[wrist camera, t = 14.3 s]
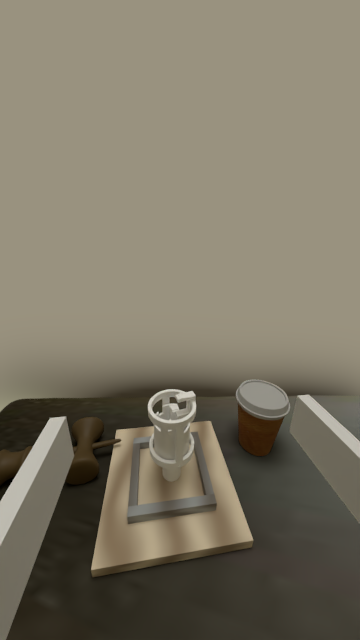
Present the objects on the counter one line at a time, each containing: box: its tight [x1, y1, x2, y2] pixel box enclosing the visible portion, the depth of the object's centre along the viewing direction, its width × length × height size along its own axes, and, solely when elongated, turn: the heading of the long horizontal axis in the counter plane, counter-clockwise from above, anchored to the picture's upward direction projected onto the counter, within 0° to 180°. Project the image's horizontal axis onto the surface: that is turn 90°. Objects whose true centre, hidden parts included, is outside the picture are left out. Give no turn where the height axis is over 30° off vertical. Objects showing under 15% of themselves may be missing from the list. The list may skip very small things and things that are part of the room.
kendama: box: [0, 417, 121, 486], centre depth 37 cm, size 6×10×20 cm
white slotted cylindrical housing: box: [148, 389, 196, 482], centre depth 32 cm, size 7×7×15 cm
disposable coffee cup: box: [236, 380, 290, 456], centre depth 41 cm, size 10×10×12 cm
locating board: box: [91, 421, 253, 577], centre depth 35 cm, size 20×20×3 cm
